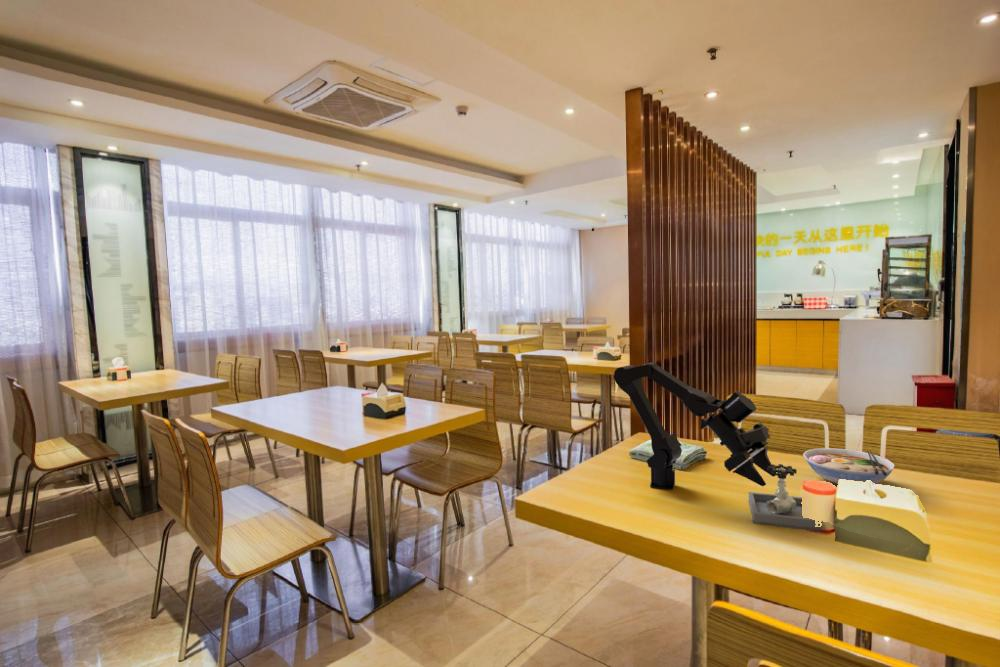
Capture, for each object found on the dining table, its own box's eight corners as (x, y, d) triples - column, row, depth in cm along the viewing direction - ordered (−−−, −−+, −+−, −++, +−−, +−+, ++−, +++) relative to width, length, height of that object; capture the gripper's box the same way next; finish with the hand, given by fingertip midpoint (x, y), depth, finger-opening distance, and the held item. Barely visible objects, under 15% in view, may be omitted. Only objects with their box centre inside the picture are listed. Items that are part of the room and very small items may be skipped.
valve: (802, 515, 131) (802, 469, 130) (783, 520, 128) (784, 473, 128) (779, 506, 137) (779, 462, 136) (761, 510, 135) (761, 466, 134)
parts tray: (753, 523, 129) (753, 513, 128) (748, 500, 143) (748, 491, 142) (822, 531, 123) (822, 521, 123) (810, 507, 137) (810, 498, 137)
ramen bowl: (802, 465, 170) (803, 441, 169) (888, 475, 158) (888, 450, 158) (802, 490, 149) (803, 463, 148) (901, 505, 137) (902, 475, 136)
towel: (683, 472, 168) (683, 457, 167) (628, 458, 183) (627, 444, 183) (708, 459, 180) (708, 445, 180) (654, 447, 196) (654, 434, 195)
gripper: (737, 422, 130) (784, 473, 123) (760, 409, 144) (804, 455, 137) (706, 446, 136) (749, 497, 129) (731, 431, 150) (771, 477, 143)
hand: (770, 480), depth 134 cm, fingers open, 9 cm apart
